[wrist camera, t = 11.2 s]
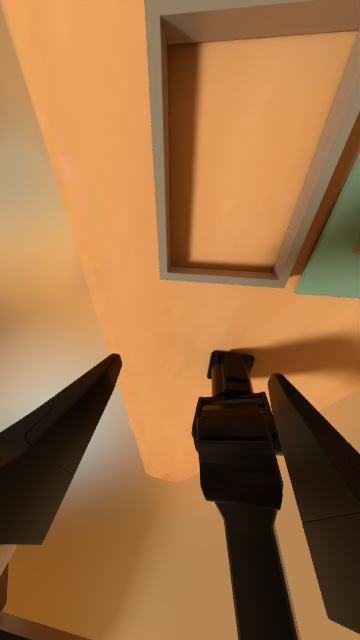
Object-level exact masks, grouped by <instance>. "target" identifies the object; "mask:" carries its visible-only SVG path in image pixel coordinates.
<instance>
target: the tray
mask: <svg viewBox="0 0 360 640" xmlns="http://www.w3.org/2000/svg"><path fill="white" fill-rule="evenodd" d="M144 3H145V20H146V38H147V56H148V74H149V91H150V109H151V127H152V145H153V162H154V180H155V198H156V216H157V233H158V251H159V269H160V279H161V280H175V281H189V282H203V283H217V284H231V285H245V286H259V287H273V288H285V285H286V283H287V281H288V278H289V276H290V274H291V271H292V269H293V267H294V264H295V262H296V260H297V257H298V255H299V253H300V250H301V248H302V245H303V243H304V241H305V238H306V236H307V234H308V231H309V229H310V227H311V224H312V222H313V220H314V217H315V215H316V212H317V210H318V208H319V205H320V203H321V201H322V198H323V196H324V194H325V191H326V189H327V187H328V184H329V182H330V180H331V177H332V175H333V172H334V170H335V168H336V165H337V163H338V161H339V158H340V156H341V154H342V151H343V149H344V147H345V144H346V142H347V140H348V137H349V135H350V132H351V130H352V128H353V125H354V123H355V121H356V118H357V116H358V114H359V111H360V0H144ZM348 30H359V31H358V34H357V37H356V40H355V42H354V45H353V48H352V51H351V54H350V56H349V59H348V62H347V65H346V68H345V70H344V73H343V76H342V79H341V82H340V84H339V87H338V90H337V93H336V96H335V98H334V101H333V104H332V107H331V110H330V112H329V115H328V118H327V121H326V124H325V126H324V129H323V132H322V135H321V138H320V140H319V143H318V146H317V149H316V152H315V154H314V157H313V160H312V163H311V166H310V169H309V171H308V174H307V177H306V180H305V183H304V185H303V188H302V191H301V194H300V197H299V199H298V202H297V205H296V208H295V211H294V213H293V216H292V219H291V222H290V225H289V227H288V230H287V233H286V236H285V239H284V241H283V244H282V247H281V250H280V253H279V255H278V258H277V261H276V264H275V267H274V269H273V272H272V273H266V272H250V271H234V270H218V269H202V268H186V267H171V249H170V185H169V120H168V56H167V45H168V44H181V43H194V42H207V41H220V40H232V39H245V38H258V37H271V36H284V35H297V34H309V33H322V32H335V31H348Z"/></svg>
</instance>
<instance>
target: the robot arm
mask: <svg viewBox="0 0 360 640" xmlns="http://www.w3.org/2000/svg"><path fill="white" fill-rule="evenodd" d="M254 361H255V359H254V357H253V356H250V355H241V354H232V353H223V352H212V353H211V357H210V363H209V368H208V373H207V378H208V379H212V397H199V399H198V403H197V407H196V412H195V416H194V421H193V426H192V437H193V438H194V444H195V448H196V450H197V452H198V454H199V463H200V484H201V488H202V491H203V494H204V496H205V499H206V500H207V501H214V502H215V504H216V506H217V508H218V510H219V512H220V513H221V515H222V517H223V519H224V525H225V532H226V541H227V549H228V557H229V566H230V573H231V583H232V591H233V599H234V607H235V616H236V623H237V632H238V640H301V639H300V635H299V630H298V626H297V621H296V617H295V612H294V608H293V603H292V599H291V594H290V590H289V585H288V581H287V576H286V572H285V567H284V563H283V559H282V554H281V550H280V545H279V540H278V536H277V532H276V527H275V518H276V515H277V511H278V510H280V508H281V503H282V497H283V493H282V491H283V481H282V477H281V473H280V470H279V466H278V462H277V458H276V455H280V456H284V458H285V461H286V465H287V469H288V473H289V476H290V480H291V484H292V487H293V491H294V495H295V499H296V502H297V506H298V510H299V513H300V517H301V520H302V522H303V523H302V525H303V528H304V532H305V536H306V539H307V542H308V547H309V550H310V554H311V558H312V561H313V565H314V569H315V573H316V576H317V580H318V583H319V587H320V591H321V595H322V598H323V602H324V605H325V609H326V613H327V616H328V618H329V619H330V620H332V621H334V622H336V623H338V624H340V625H342V626H344V627H346V628H348V629H350V630H352V631H354V632H356V633H358V634H360V454H359V453H358V452H357V451H356V450H355V449H354V448H353V447H352V446H351V444H349V443H348V442H347V441H346V439H345V438H343V436H342V435H340V433H339V432H338V431H337V430H336V429H335V428H334V427H333V426H332V425H331V424H330V423H329V422H328V421H327V420H326V419H325V418H324V417H323V416H322V415H321V414H320V413H319V412H318V411H317V410H316V409H315V408H314V407H313V405H312V404H311V403H310V402H309V401H308V400H307V399H306V398H305V397H304V396H303V395H302V394H301V393H300V392H299V391H298V390H297V389H296V388H295V387H294V386H293V385H292V384H291V383H290V382H289V381H288V380H287V379H286V378H285V377H284V376H283V375H282V374H280V373H273V374H272V375H271V377H270V379H269V381H268V389H269V396H270V402H271V408H272V412H271V409H270V405H269V402H268V399H267V396H266V393H265V392H261V393H254V392H253V387H252V383H251V379H250V375H249V372H250V370H251V368H252V365H253V363H254ZM121 367H122V361H121V357H120V355H119V354H115V353H113V354H111V355H109V356H108V357H107V358H106V359H104V360H103V361H102V362H100V363H99V364H97V365H96V366H94V367H93V368H92V369H91V370H89V371H88V372H86V373H85V374H84V375H82V376H81V377H80V378H78V379H77V380H75V381H74V382H73V383H71V384H70V385H69V386H67V387H66V388H64V389H63V390H62V391H60V392H59V393H58V394H56V395H55V397H52V398H51V399H49V400H48V401H47V402H45V403H44V404H43V405H41V406H40V407H38V408H37V409H35V410H34V411H32V412H31V413H29V414H28V415H26V416H25V417H23V418H22V419H20V420H19V421H17V422H16V423H14V424H13V425H11V426H9V427H8V428H6V429H5V430H3V431H2V432H0V640H91V639H87V638H84V637H81V636H77V635H74V634H71V633H68V632H65V631H62V630H58V629H55V628H52V627H49V626H46V625H43V624H40V623H36V622H33V621H30V620H27V619H23V618H20V617H17V616H14V615H11V614H8V613H4V612H2V610H3V608H4V606H5V604H6V602H7V582H8V581H7V580H8V561H9V559H10V557H11V556H12V554H13V552H14V550H15V549H16V547H17V545H41V544H42V543H43V541H44V539H45V537H46V535H47V533H48V531H49V528H50V526H51V524H52V522H53V520H54V517H55V515H56V513H57V511H58V509H59V507H60V505H61V502H62V500H63V498H64V496H65V494H66V491H67V489H68V487H69V485H70V483H71V481H72V479H73V477H74V474H75V472H76V470H77V468H78V465H79V464H80V461H81V459H82V457H83V455H84V453H85V450H86V448H87V446H88V444H89V442H90V440H91V437H92V435H93V433H94V431H95V429H96V427H97V425H98V423H99V420H100V418H101V416H102V414H103V412H104V410H105V407H106V405H107V403H108V401H109V399H110V397H111V395H112V392H113V390H114V387H115V384H116V382H117V379H118V376H119V373H120V370H121ZM272 413H273V415H272Z"/></svg>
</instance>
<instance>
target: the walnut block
mask: <svg viewBox="0 0 360 640" xmlns="http://www.w3.org/2000/svg"><path fill="white" fill-rule="evenodd" d="M351 253H354V254H357V255H360V238H359V240H358V242H357V243H356V245H355V247H354V249H353V250H352V252H351Z"/></svg>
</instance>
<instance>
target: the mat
mask: <svg viewBox="0 0 360 640" xmlns="http://www.w3.org/2000/svg"><path fill="white" fill-rule="evenodd" d="M359 238H360V153H359V155H358V157H357V159H356V161H355V164H354V166H353V168H352V170H351V172H350V174H349V176H348V178H347V181H346V183H345V185H344V187H343V189H342V191H341V193H340V196H339V198H338V200H337V202H336V204H335V206H334V208H333V210H332V213H331V215H330V217H329V219H328V221H327V223H326V225H325V227H324V230H323V232H322V234H321V236H320V238H319V240H318V242H317V244H316V247H315V249H314V251H313V253H312V255H311V257H310V259H309V261H308V264H307V266H306V268H305V270H304V272H303V274H302V276H301V279H300V281H299V283H298V285H297V287H296V289H295V291H294V293H295V294H306V295H320V296H333V297H347V298H360V255H357V254H354V253H351V252H352V250H353V249H354V247H355V245H356V243H357V242H358V240H359Z"/></svg>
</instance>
